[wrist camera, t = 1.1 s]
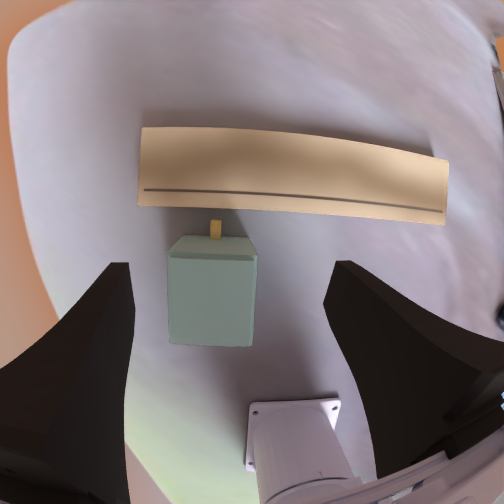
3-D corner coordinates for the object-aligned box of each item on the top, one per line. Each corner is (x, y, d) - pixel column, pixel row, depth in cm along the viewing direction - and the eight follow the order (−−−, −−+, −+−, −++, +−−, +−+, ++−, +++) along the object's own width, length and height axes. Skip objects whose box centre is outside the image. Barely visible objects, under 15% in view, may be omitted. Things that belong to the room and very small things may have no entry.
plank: (431, 222, 22) (445, 225, 21) (144, 204, 20) (137, 205, 19) (435, 162, 21) (449, 161, 20) (148, 132, 19) (141, 127, 18)
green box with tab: (245, 306, 22) (252, 349, 16) (182, 304, 22) (167, 346, 16) (250, 219, 21) (260, 232, 15) (183, 217, 21) (165, 228, 14)
